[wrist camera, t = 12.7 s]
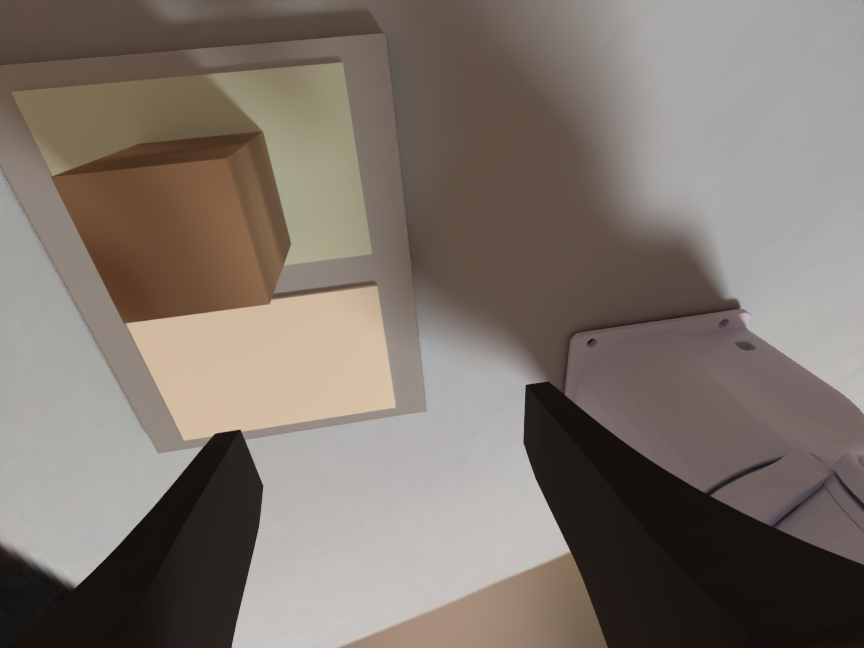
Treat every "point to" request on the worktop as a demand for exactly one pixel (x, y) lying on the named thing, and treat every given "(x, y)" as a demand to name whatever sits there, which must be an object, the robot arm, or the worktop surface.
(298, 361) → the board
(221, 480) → the robot arm
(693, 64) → the worktop surface
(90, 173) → the walnut block
